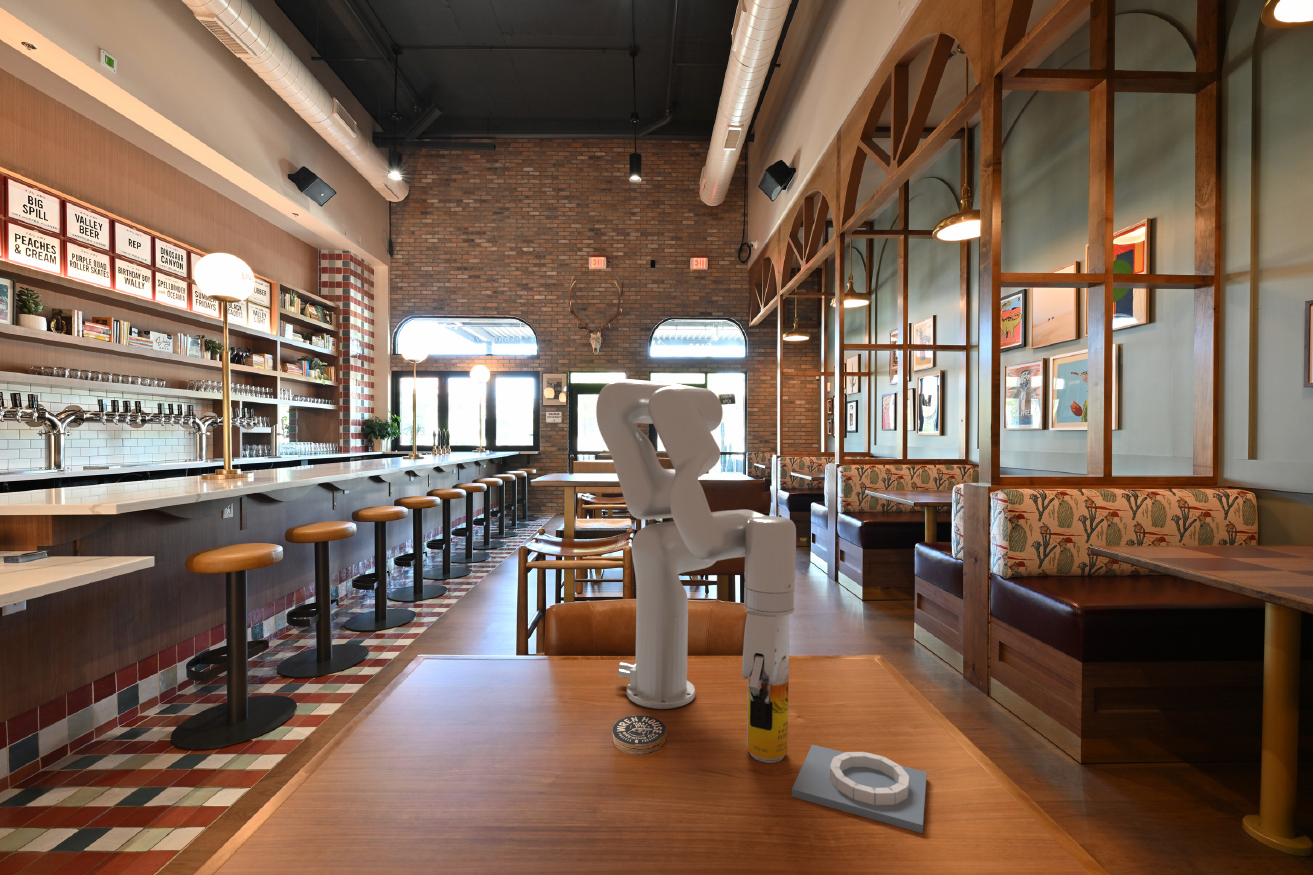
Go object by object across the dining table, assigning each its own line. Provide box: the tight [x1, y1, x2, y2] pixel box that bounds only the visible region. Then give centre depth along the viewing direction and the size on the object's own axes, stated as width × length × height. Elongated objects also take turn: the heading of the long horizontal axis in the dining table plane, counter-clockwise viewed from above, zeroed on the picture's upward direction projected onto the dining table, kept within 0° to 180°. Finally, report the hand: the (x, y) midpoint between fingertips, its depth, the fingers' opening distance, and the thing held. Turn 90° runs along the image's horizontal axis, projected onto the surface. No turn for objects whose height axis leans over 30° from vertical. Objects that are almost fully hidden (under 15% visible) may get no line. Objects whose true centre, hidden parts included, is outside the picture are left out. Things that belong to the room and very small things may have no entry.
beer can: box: [746, 656, 790, 764], centre depth 91 cm, size 6×6×15 cm
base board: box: [791, 744, 928, 834], centre depth 83 cm, size 16×13×2 cm
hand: (767, 716), depth 91 cm, fingers closed on beer can, 6 cm apart
